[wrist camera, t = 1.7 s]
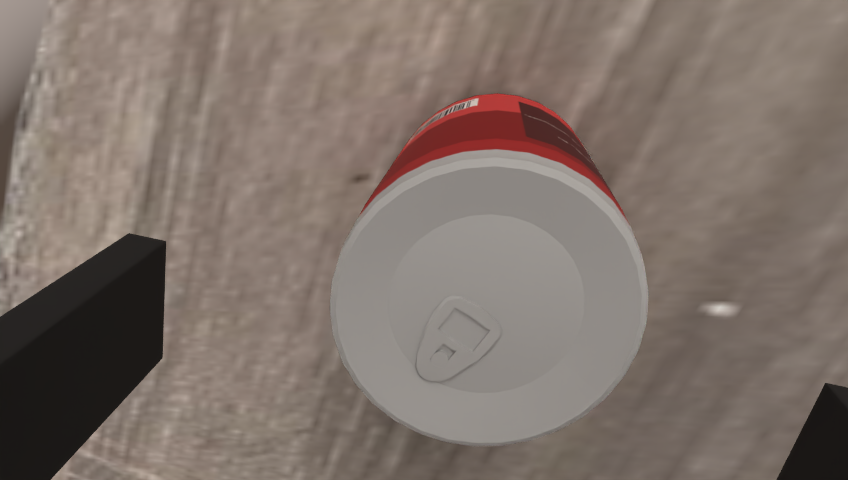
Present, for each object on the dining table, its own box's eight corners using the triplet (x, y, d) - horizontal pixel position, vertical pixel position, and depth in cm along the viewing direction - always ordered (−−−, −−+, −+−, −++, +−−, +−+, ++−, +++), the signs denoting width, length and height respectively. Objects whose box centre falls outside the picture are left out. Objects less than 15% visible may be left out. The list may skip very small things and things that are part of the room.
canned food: (371, 244, 27) (292, 393, 17) (432, 59, 24) (383, 103, 14) (540, 305, 27) (566, 491, 17) (622, 129, 24) (714, 223, 14)
